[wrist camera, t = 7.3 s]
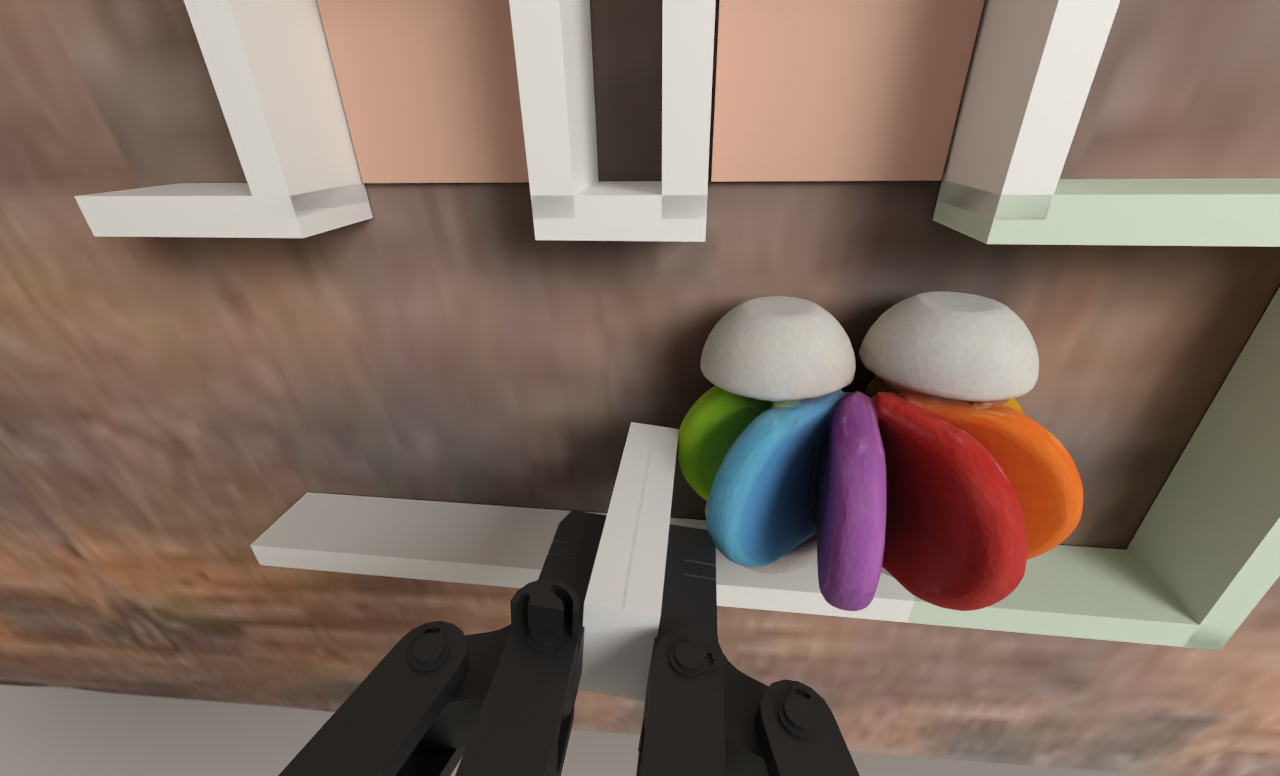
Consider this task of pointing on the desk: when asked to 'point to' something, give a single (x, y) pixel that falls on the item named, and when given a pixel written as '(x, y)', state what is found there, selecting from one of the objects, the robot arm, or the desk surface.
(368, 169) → the box
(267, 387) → the desk surface
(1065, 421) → the desk surface
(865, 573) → the rainbow petal toy
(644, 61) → the desk surface
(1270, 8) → the desk surface
